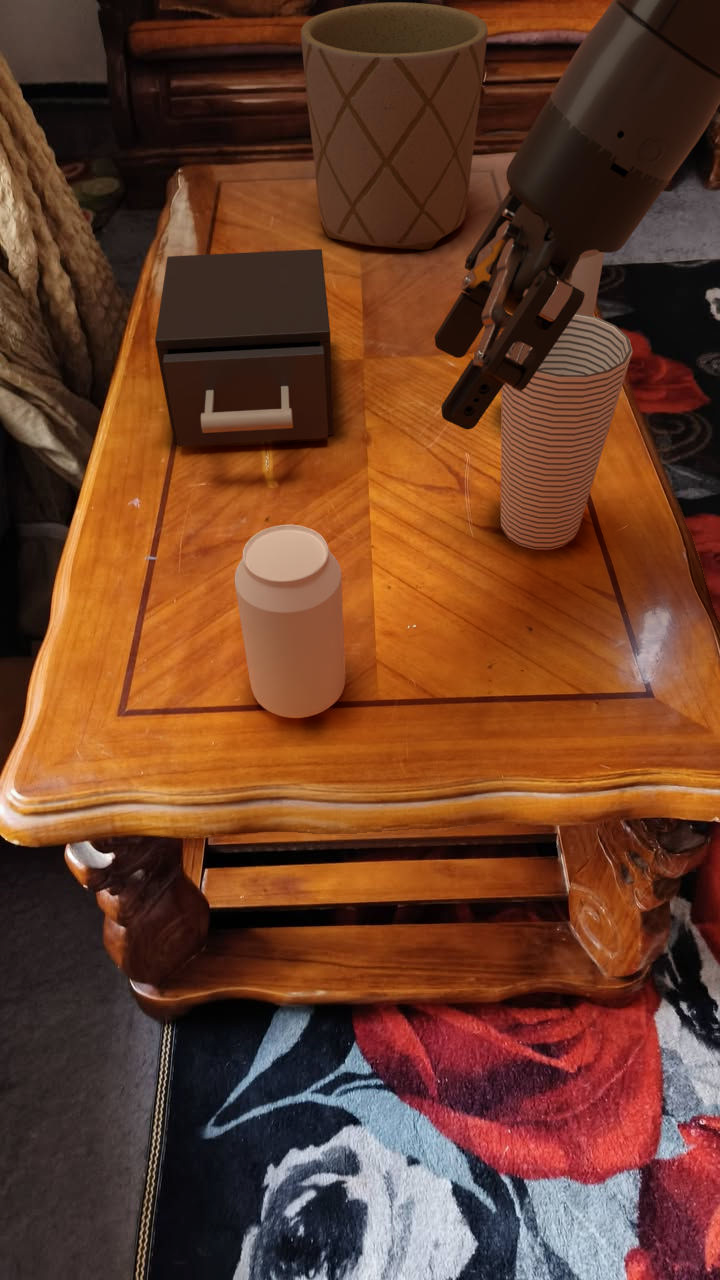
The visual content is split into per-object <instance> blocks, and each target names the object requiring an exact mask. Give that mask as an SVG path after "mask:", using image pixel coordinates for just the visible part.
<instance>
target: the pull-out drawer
mask: <svg viewBox="0 0 720 1280" xmlns="http://www.w3.org/2000/svg"><path fill="white" fill-rule="evenodd" d="M176 351H177V354H165V355H164V359H163V365H164V370H165V375H166V381H167V386H168V392H169V397H170V402H171V408H172V413H173V419H174V424H175V429H176V435H177V440H178V444H177V445H178V447H189V446H190V447H191V446H211V445H225V444H226V445H229V444H245V443H260V442H261V443H262V442H264V443H265V442H279V441H280V442H281V441H297V440H299V441H300V440H316V439H317V440H318V439H328V438H329V436H328V424H327V404H326V383H325V363H324V348H323V346H315V347H313V342H304V343H285V344H266V345H247V346H228V347H209V348H190V349H176Z"/></svg>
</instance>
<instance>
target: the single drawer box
mask: <svg viewBox="0 0 720 1280" xmlns="http://www.w3.org/2000/svg"><path fill="white" fill-rule="evenodd" d="M323 257H324V256H323V250H322V248H315V249H314V248H313V249H293V250H291V249H290V250H274V251H273V250H272V251H252V252H233V253H214V254H213V253H211V254H191V255H189V254H188V255H173V256H170V255H169V256H167V257H166V264H165V270H164V277H163V284H162V290H161V297H160V304H159V311H158V318H157V326H156V330H155V331H156V334H155V339H154V342H155V348H156V353H157V360H158V363H159V369H160V373H161V374H160V375H161V380H162V385H163V391H164V395H165V401H166V407H167V412H168V417H169V423H170V429H171V435H172V440H173V443H174V445H178V440H177V435H176V429H175V424H174V419H173V413H172V408H171V402H170V397H169V392H168V386H167V381H166V375H165V370H164V365H163V359H164V355H165V354H177V351H176V349H190V348H209V347H228V346H247V345H266V344H285V343H304V342H313V347H315V346H323V348H324V363H325V383H326V404H327V424H328V437H329V436H335V416H334V415H335V414H334V413H335V412H334V389H333V368H332V346H331V344H332V343H331V329H330V317H329V309H328V307H329V306H328V298H327V288H326V277H325V268H324V258H323Z"/></svg>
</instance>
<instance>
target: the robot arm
mask: <svg viewBox="0 0 720 1280" xmlns="http://www.w3.org/2000/svg"><path fill="white" fill-rule="evenodd" d="M552 90H553V91H552V92H551V94H550V95H549V97H548V99H547V100H546V101H545V103H544V105H543V107H542V109H541V111H540V112H539V114H538V116H537V117H536V118H535V120H534V122H533V124H532V126H531V127H530V129H529V131H528V132H527V134H526V136H525V137H524V139H523V140H522V143H521V144H520V146H519V147H518V149H517V150H516V152H515V154H514V156H513V158H512V159H511V161H510V162H509V165H508V167H507V168H506V181H507V184H508V186H509V190H508V192H507V194H506V195H505V197H504V199H503V200H502V201H501V203H500V205H499V207H498V208H497V210H496V212H495V213H494V214H493V216H492V218H491V219H490V221H489V223H488V224H487V226H486V227H485V229H484V231H483V232H482V234H481V235H480V237H479V239H478V240H477V242H476V244H475V245H474V247H473V248H472V250H471V251H470V253H469V254H468V255H467V256H466V259H465V264H464V269H465V270H467V271H468V272H467V274H466V275H464V277H463V278H462V281H461V286H460V290H462V291H461V292H460V293H459V296H458V297H457V299H456V300H455V302H454V303H453V304H452V305H453V306H452V307H451V308H450V310H449V312H448V313H447V315H446V317H445V318H444V320H443V322H442V323H441V325H440V326H439V328H438V330H437V331H436V333H435V335H434V345H435V348H437V349H438V350H440V351H442V352H444V353H446V354H448V355H450V356H452V357H453V358H456V359H460V358H463V357H464V356H466V354H467V353H468V351H469V350H470V348H471V346H472V345H473V344H474V342H475V341H476V339H477V338H478V336H479V334H480V333H481V332H482V329H483V328H484V331H483V333H482V336H481V338H480V341H479V344H478V345H477V348H476V350H475V352H474V354H473V358H471V360H470V361H469V363H468V364H467V366H466V367H465V369H464V370H463V372H462V373H461V375H460V376H459V378H458V379H457V381H456V382H455V384H454V386H453V387H452V388H451V390H450V392H449V393H448V395H446V398H445V399H444V401H443V402H442V404H441V407H440V408H441V416H442V418H443V420H445V421H447V422H449V423H451V424H453V425H455V426H457V427H459V428H462V429H464V430H472V429H473V428H475V427H476V426H477V424H478V423H479V421H480V420H481V418H482V417H483V415H485V413H486V412H487V410H488V408H489V407H490V405H491V404H492V402H493V401H494V400H495V398H496V397H497V396H498V394H499V393H500V392H501V391H502V387H503V385H504V384H505V383H506V384H508V385H510V386H512V387H513V388H515V389H517V390H519V391H522V390H523V389H525V387H526V386H527V385H528V383H529V382H530V380H531V379H532V377H533V376H534V374H535V373H536V371H537V370H538V368H539V367H540V365H541V364H542V362H543V361H544V360H545V358H546V357H547V355H548V354H549V352H550V351H551V349H552V348H553V346H554V345H555V343H556V342H557V340H558V339H559V337H560V336H561V334H562V333H563V331H564V330H565V329H566V327H567V326H568V324H569V323H570V321H571V320H572V318H573V317H574V315H575V314H576V312H577V311H578V309H579V308H580V307H581V305H582V303H583V300H584V296H585V293H584V292H583V291H581V290H579V289H577V288H576V287H574V286H573V285H572V284H570V281H571V278H572V272H573V270H574V268H575V266H576V264H577V263H578V261H579V258H580V255H582V254H583V252H585V251H589V250H598V251H599V252H603V253H604V254H611V253H616V252H618V251H620V250H621V249H622V248H623V247H624V246H625V244H626V243H627V242H628V240H629V239H630V237H631V236H632V234H633V233H634V231H635V230H636V229H637V227H638V226H639V225H640V224H641V222H642V220H643V219H644V217H645V216H646V215H647V214H648V212H649V210H650V209H651V207H652V206H653V205H654V203H655V202H656V200H658V198H659V196H660V195H661V193H662V192H663V191H664V189H665V188H666V186H668V184H669V182H670V181H671V179H672V178H673V177H674V175H675V174H676V172H677V171H678V169H680V167H681V165H682V164H683V163H684V161H685V160H686V159H687V157H688V156H689V154H690V153H691V151H692V150H693V148H694V147H695V146H696V144H697V143H698V142H699V140H700V139H701V137H702V136H703V134H704V132H705V131H706V129H707V127H708V126H709V124H710V122H711V121H712V119H713V118H714V116H715V114H716V111H717V110H718V109H719V106H720V0H611V2H610V4H609V5H608V7H607V9H606V10H605V11H604V12H603V14H602V15H601V17H600V18H599V20H597V22H596V23H595V24H594V26H593V27H592V29H590V31H589V32H588V33H587V35H586V36H585V38H584V39H583V41H582V42H581V43H580V45H579V47H578V48H577V50H576V51H575V53H574V55H573V56H572V58H571V60H570V61H569V63H568V64H567V66H566V68H565V70H564V71H563V74H562V75H561V77H560V78H559V80H558V82H557V84H556V85H555V87H554V89H552ZM513 344H514V347H513V349H512V352H511V354H510V357H507V356H506V354H507V353H508V351H509V350H510V348H511V346H512V345H513ZM530 347H532V350H531V351H530V353H529V354H528V356H527V353H528V351H529V348H530ZM526 356H527V357H526ZM525 358H526V359H525Z"/></svg>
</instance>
